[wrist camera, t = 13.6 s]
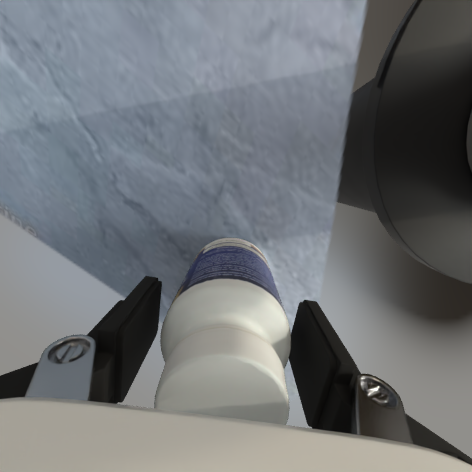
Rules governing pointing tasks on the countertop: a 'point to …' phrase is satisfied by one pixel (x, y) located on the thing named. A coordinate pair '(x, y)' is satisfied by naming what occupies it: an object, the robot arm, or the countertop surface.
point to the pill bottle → (226, 338)
